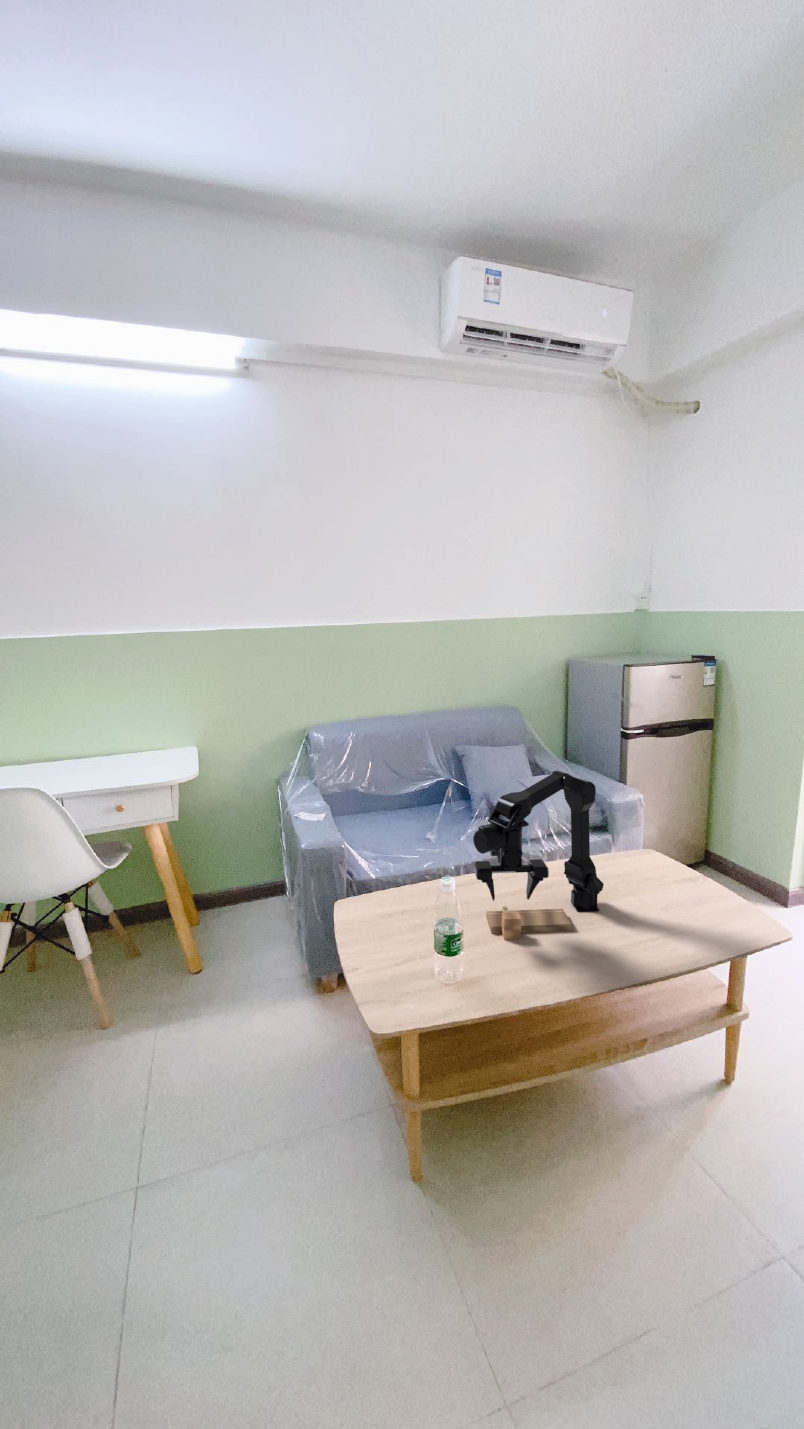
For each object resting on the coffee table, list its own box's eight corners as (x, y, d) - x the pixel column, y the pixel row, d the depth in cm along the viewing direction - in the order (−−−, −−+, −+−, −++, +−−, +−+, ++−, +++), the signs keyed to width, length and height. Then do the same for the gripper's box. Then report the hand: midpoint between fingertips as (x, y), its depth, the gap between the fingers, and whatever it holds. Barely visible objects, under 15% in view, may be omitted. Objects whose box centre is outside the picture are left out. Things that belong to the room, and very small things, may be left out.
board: (562, 915, 156) (562, 908, 155) (571, 930, 148) (571, 923, 148) (486, 917, 156) (486, 911, 155) (491, 933, 148) (491, 926, 147)
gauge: (512, 917, 155) (512, 898, 154) (520, 939, 145) (521, 918, 144) (496, 918, 155) (496, 899, 154) (504, 939, 145) (504, 919, 144)
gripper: (538, 831, 150) (537, 883, 152) (471, 833, 150) (471, 886, 152) (549, 847, 139) (548, 904, 141) (477, 850, 139) (477, 906, 141)
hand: (510, 899), depth 144 cm, fingers open, 9 cm apart
